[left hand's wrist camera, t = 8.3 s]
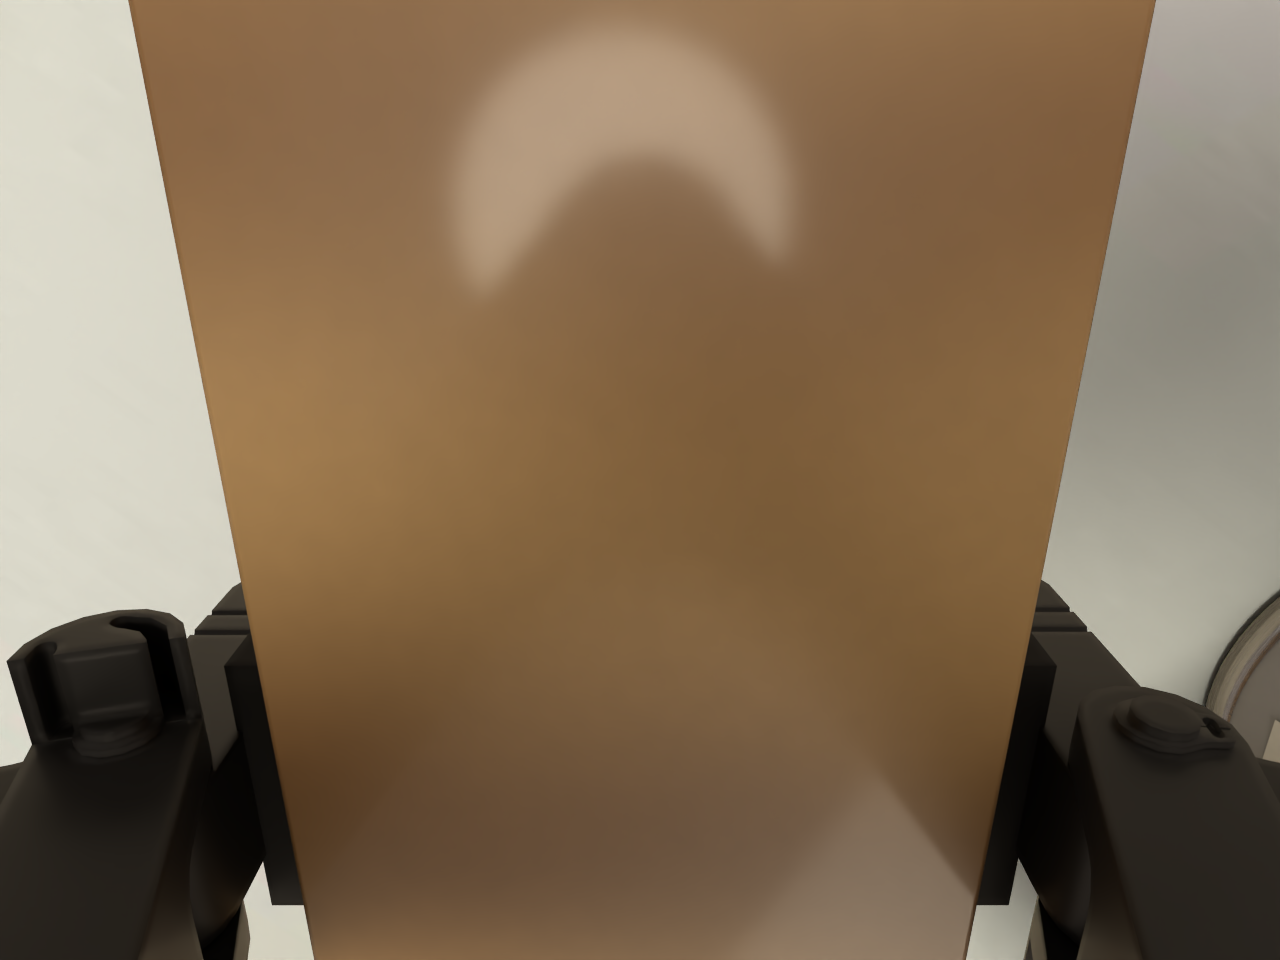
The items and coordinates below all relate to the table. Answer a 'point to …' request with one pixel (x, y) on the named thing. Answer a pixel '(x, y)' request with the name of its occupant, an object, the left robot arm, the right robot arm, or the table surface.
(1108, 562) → the table surface
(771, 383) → the post
